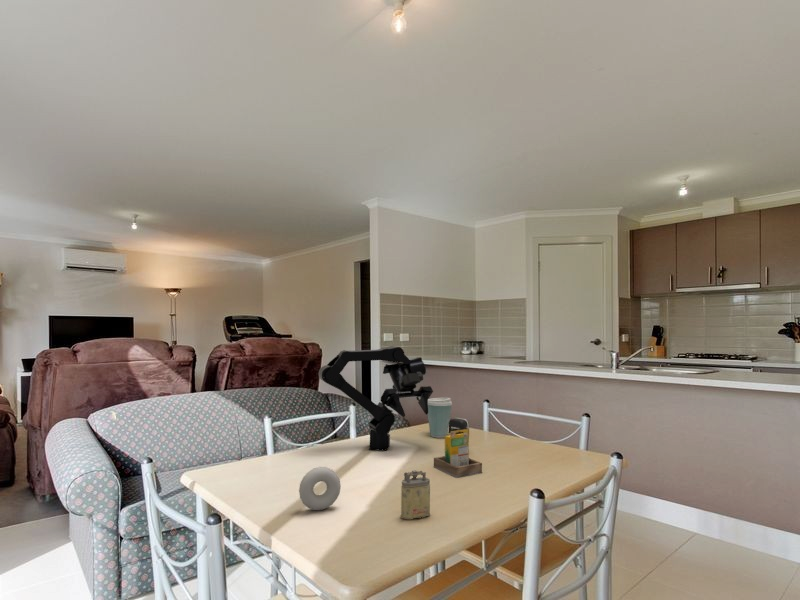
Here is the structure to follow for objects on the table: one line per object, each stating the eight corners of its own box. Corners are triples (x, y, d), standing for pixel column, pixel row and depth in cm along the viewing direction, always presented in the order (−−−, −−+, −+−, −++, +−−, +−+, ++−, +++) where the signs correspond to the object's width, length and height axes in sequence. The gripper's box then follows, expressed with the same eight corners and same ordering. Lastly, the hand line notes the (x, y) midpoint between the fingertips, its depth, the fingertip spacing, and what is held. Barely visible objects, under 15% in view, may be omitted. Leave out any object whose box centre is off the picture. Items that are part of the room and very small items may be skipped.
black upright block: (446, 451, 162) (447, 418, 163) (453, 449, 165) (453, 416, 165) (463, 455, 157) (463, 421, 158) (469, 453, 160) (469, 419, 160)
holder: (456, 477, 134) (456, 467, 134) (433, 466, 144) (433, 457, 144) (482, 472, 138) (481, 463, 139) (458, 462, 149) (458, 453, 149)
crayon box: (463, 464, 144) (463, 427, 145) (469, 467, 142) (469, 428, 142) (444, 468, 141) (444, 429, 141) (450, 470, 138) (450, 431, 139)
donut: (338, 504, 113) (338, 462, 114) (342, 509, 110) (342, 466, 111) (297, 510, 110) (298, 467, 110) (300, 515, 106) (300, 471, 107)
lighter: (426, 510, 110) (426, 468, 110) (433, 517, 106) (433, 472, 107) (398, 515, 107) (398, 471, 108) (404, 521, 104) (405, 476, 104)
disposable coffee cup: (423, 438, 180) (423, 399, 181) (427, 432, 190) (428, 395, 191) (450, 440, 177) (450, 400, 178) (453, 433, 188) (453, 396, 189)
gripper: (384, 365, 157) (400, 402, 147) (430, 363, 167) (448, 398, 156) (374, 385, 164) (388, 423, 154) (418, 382, 173) (435, 417, 163)
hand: (416, 415), depth 156 cm, fingers open, 9 cm apart
